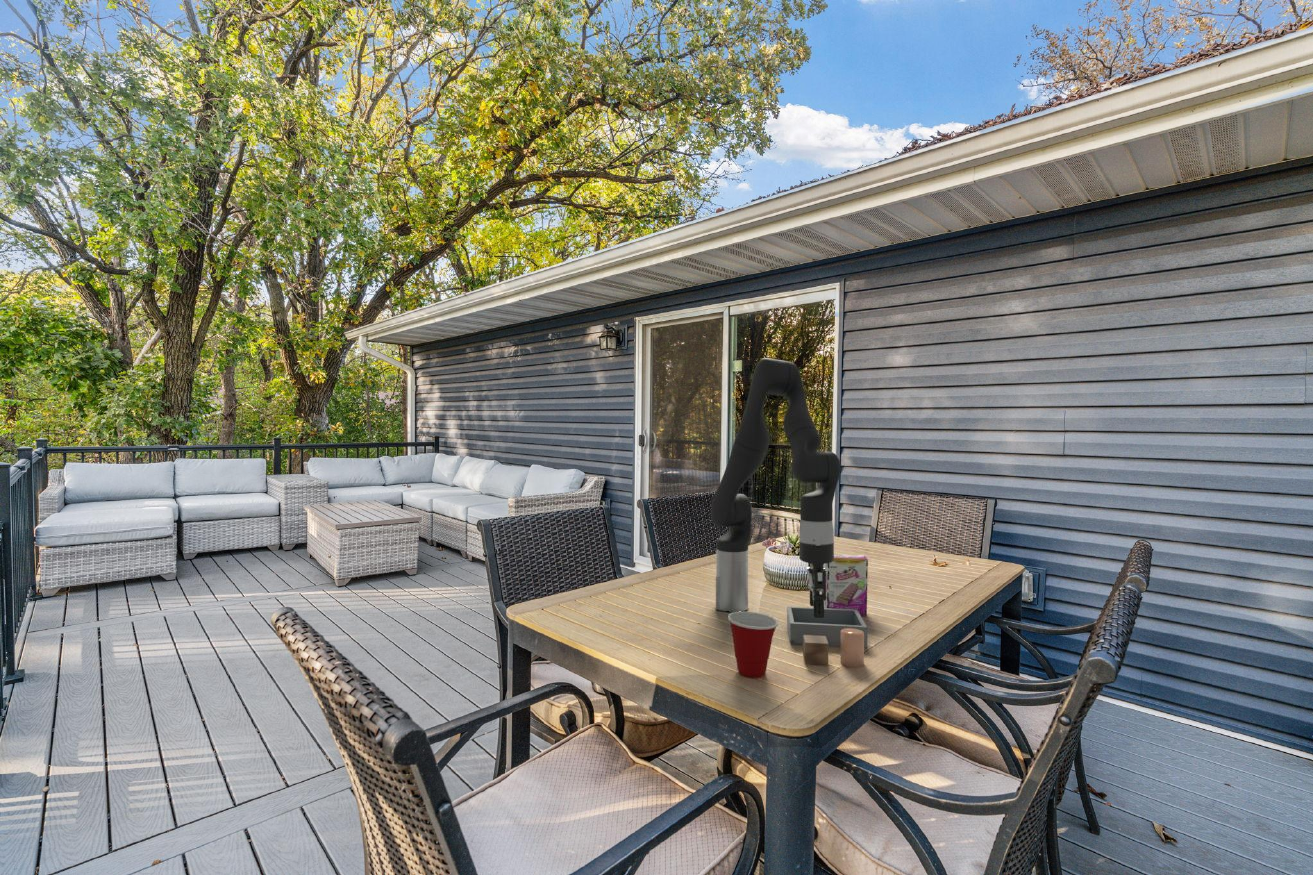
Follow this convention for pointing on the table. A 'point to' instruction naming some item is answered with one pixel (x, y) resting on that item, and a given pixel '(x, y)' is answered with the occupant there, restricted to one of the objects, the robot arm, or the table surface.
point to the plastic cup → (752, 641)
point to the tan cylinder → (852, 647)
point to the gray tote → (823, 624)
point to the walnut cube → (815, 650)
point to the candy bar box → (847, 583)
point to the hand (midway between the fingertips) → (816, 611)
